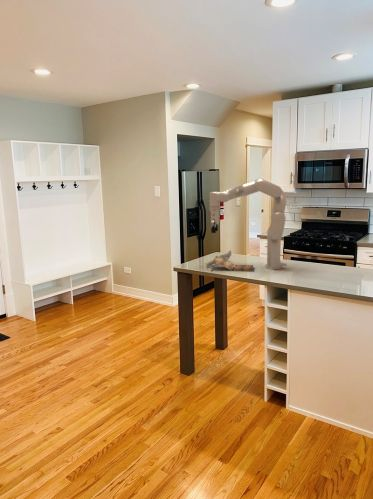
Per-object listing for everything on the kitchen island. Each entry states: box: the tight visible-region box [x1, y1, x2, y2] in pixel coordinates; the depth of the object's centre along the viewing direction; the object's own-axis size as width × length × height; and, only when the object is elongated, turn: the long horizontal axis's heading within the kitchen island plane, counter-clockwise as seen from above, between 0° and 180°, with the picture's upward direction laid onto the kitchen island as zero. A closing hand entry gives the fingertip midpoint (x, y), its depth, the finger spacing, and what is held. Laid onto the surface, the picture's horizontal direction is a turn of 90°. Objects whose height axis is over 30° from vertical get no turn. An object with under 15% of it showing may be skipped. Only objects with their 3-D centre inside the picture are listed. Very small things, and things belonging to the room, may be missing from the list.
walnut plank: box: [233, 264, 254, 272], centre depth 275 cm, size 13×11×2 cm
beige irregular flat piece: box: [212, 255, 235, 270], centre depth 277 cm, size 15×11×2 cm
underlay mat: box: [210, 265, 256, 273], centre depth 277 cm, size 31×13×1 cm, turn 78°
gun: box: [205, 250, 232, 269], centre depth 294 cm, size 2×30×8 cm, turn 137°
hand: (214, 231), depth 280 cm, fingers open, 9 cm apart
